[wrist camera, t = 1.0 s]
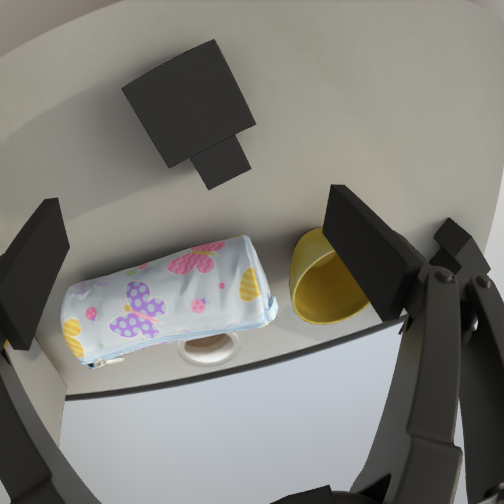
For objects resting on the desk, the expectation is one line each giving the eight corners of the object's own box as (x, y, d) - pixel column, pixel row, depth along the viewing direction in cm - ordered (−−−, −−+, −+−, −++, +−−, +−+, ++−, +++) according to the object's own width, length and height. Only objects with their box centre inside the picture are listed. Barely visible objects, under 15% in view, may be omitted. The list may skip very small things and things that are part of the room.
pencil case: (102, 323, 35) (92, 387, 27) (65, 271, 30) (41, 336, 22) (264, 276, 36) (288, 339, 28) (247, 210, 30) (272, 270, 23)
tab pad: (209, 43, 21) (214, 38, 17) (257, 142, 27) (272, 159, 23) (132, 83, 21) (120, 88, 17) (187, 178, 27) (189, 201, 23)
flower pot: (308, 294, 39) (328, 337, 33) (253, 253, 33) (270, 299, 28) (369, 242, 36) (400, 279, 30) (324, 188, 31) (357, 223, 25)
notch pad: (448, 217, 37) (471, 236, 33) (472, 251, 42) (491, 269, 38) (394, 279, 41) (412, 303, 37) (427, 303, 47) (442, 323, 43)
